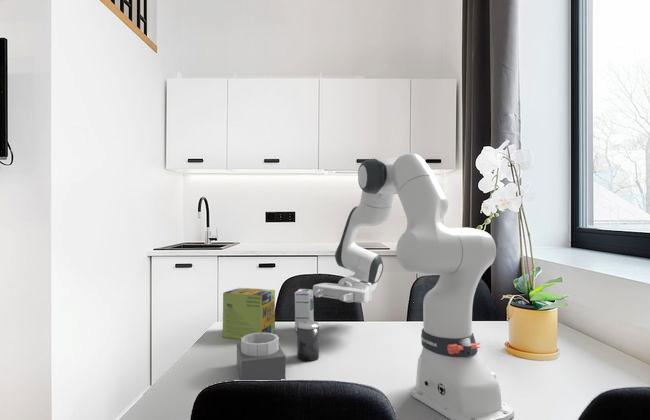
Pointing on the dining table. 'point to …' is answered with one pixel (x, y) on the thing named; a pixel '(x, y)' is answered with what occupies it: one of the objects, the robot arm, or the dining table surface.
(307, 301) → the syrup box
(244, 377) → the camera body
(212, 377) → the dining table surface
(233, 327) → the protein box
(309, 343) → the dark grey metallic cylinder
